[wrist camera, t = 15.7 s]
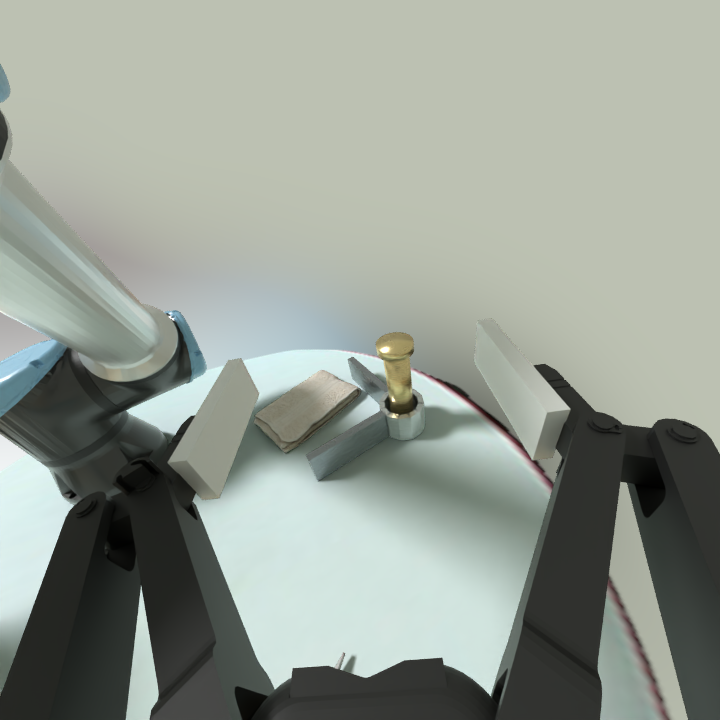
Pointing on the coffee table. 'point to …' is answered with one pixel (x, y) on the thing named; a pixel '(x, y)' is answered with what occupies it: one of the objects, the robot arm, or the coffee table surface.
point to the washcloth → (305, 409)
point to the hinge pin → (397, 370)
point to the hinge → (368, 426)
